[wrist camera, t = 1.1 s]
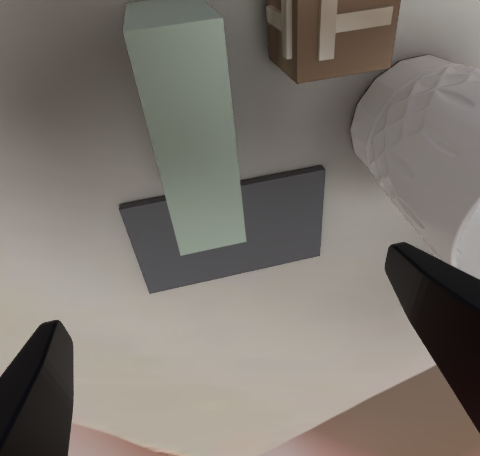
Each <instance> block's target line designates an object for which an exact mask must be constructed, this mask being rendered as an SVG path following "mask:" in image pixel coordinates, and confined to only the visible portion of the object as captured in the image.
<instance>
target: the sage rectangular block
mask: <svg viewBox="0 0 480 456" xmlns="http://www.w3.org/2000/svg"><path fill="white" fill-rule="evenodd" d="M123 35H124V39H125V43H126V47H127V51H128V55H129V58H130V62H131V66H132V70H133V74H134V78H135V82H136V85H137V89H138V93H139V97H140V101H141V105H142V109H143V112H144V116H145V120H146V124H147V128H148V132H149V136H150V139H151V143H152V147H153V151H154V155H155V159H156V163H157V166H158V170H159V174H160V178H161V182H162V186H163V190H164V193H165V197H166V201H167V205H168V209H169V213H170V217H171V221H172V224H173V228H174V232H175V236H176V240H177V244H178V248H179V251H180V255H181V256H182V255H187V254H191V253H196V252H201V251H205V250H210V249H215V248H219V247H224V246H229V245H233V244H238V243H243V242H246V233H245V223H244V214H243V204H242V194H241V185H240V175H239V166H238V156H237V146H236V137H235V127H234V117H233V108H232V98H231V89H230V79H229V69H228V60H227V50H226V41H225V31H224V21H223V17H222V16H221V15H220V14H219V13H218V12H217V11H216V10H214V9H213V8H212V7H211V6H210V5H209V4H208V3H207V2H206V1H205V0H147V1H140V2H132V3H126V8H125V17H124V25H123Z"/></svg>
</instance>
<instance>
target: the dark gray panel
mask: <svg viewBox="0 0 480 456" xmlns="http://www.w3.org/2000/svg"><path fill="white" fill-rule="evenodd" d="M324 182H325V168H324V167H323V166H322V165H321V166H316V167H311V168H306V169H301V170H295V171H290V172H285V173H280V174H275V175H270V176H265V177H260V178H254V179H249V180H244V181H240V185H241V194H242V204H243V214H244V223H245V233H246V242H243V243H238V244H233V245H229V246H224V247H219V248H215V249H210V250H205V251H201V252H196V253H191V254H187V255H182V256H181V255H180V251H179V248H178V244H177V240H176V236H175V232H174V228H173V224H172V221H171V217H170V213H169V209H168V205H167V201H166V197H165V196H162V197H157V198H152V199H147V200H142V201H137V202H132V203H126V204H121V205H120V206H119V210H120V213H121V216H122V219H123V222H124V224H125V227H126V230H127V233H128V235H129V238H130V241H131V244H132V246H133V249H134V252H135V255H136V257H137V260H138V263H139V266H140V268H141V271H142V274H143V277H144V279H145V282H146V285H147V288H148V291H149V293H150V294H151V293H156V292H160V291H165V290H169V289H173V288H178V287H182V286H187V285H191V284H196V283H200V282H205V281H209V280H214V279H218V278H223V277H227V276H232V275H236V274H241V273H245V272H249V271H254V270H258V269H263V268H267V267H272V266H276V265H281V264H285V263H290V262H294V261H299V260H303V259H308V258H312V257H317V256H320V246H321V230H322V214H323V198H324Z"/></svg>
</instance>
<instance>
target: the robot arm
mask: <svg viewBox="0 0 480 456" xmlns="http://www.w3.org/2000/svg"><path fill="white" fill-rule="evenodd" d="M385 271H386V274H387V276H388V278H389V280H390V283H391V285H392V287H393V289H394V291H395V293H396V295H397V297H398V299H399V301H400V303H401V305H402V307H403V309H404V312H405V314H406V315H407V317H408V319H409V321H410V323H411V324H412V326H413V328H414V329H415V331H416V332H417V334H418V336H419V337H420V339H421V340H422V342H423V344H424V345H425V347H426V348H427V350H428V352H429V353H430V355H431V356H432V358H433V360H434V361H435V363H436V364H437V366H438V368H439V369H440V371H441V372H442V374H443V376H444V377H445V379H446V380H447V382H448V384H449V385H450V387H451V388H452V390H453V391H454V393H455V395H456V396H457V398H458V400H459V401H460V403H461V404H462V406H463V408H464V409H465V411H466V412H467V414H468V416H469V417H470V419H471V420H472V422H473V423H474V425H475V427H476V428H477V430H478V432H479V433H480V279H478V278H476V277H474V276H472V275H470V274H468V273H466V272H464V271H462V270H460V269H458V268H456V267H454V266H452V265H450V264H448V263H446V262H444V261H442V260H440V259H438V258H436V257H434V256H432V255H430V254H428V253H426V252H424V251H422V250H420V249H418V248H416V247H414V246H412V245H410V244H408V243H405V242H401V243H396V244H392V245H390V247H389V248H388V253H387V257H386V262H385ZM73 396H74V387H73V342H72V339H71V337H70V335H69V334H68V332H67V330H66V329H65V327H64V326H63V324H62V323H61V321H59V320H53V321H49V322H45V323H42V324H41V325H40V326H39V327H38V328H37V329H36V331H35V332H34V333H33V335H32V336H31V337H30V339H29V340H28V341H27V343H26V344H25V345H24V346H23V348H22V349H21V350H20V352H19V353H18V354H17V356H16V357H15V358H14V360H13V361H12V362H11V364H10V365H9V366H8V367H7V369H6V370H5V371H4V373H3V374H2V375H1V377H0V456H68V449H69V439H70V431H71V422H72V413H73Z"/></svg>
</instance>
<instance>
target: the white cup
mask: <svg viewBox="0 0 480 456" xmlns="http://www.w3.org/2000/svg"><path fill="white" fill-rule="evenodd" d="M350 132H351V138H352V143H353V148H354V153H355V154H356V155H357V156H358V158H359V159H360V160H361V161H362V162H363V163H364V164H365V165H366V167H367V168H368V169H369V170H370V171H371V173H372V174H373V175H374V176H375V178H376V180H377V181H378V184H379V186H380V187H381V188H382V189H383V190H384V192H385V193H386V194H387V196H388V197H389V198H390V200H391V201H392V202H393V204H394V205H395V206H396V207H397V208H398V210H399V211H400V212H401V213H402V214H403V215H404V217H405V218H406V219H407V220H408V221H409V223H410V224H411V225H412V226H413V227H414V228H415V230H416V231H417V232H418V233H419V234H420V236H421V237H422V238H423V239H424V240H425V241H426V243H427V244H428V245H429V246H430V247H431V248H432V250H433V251H434V252H435V253H436V254H437V256H438V257H439V258H440V259H441V260H442V261H444V262H446V263H448V264H450V265H452V266H454V267H456V268H458V269H460V270H462V271H464V272H466V273H468V274H470V275H472V276H474V277H476V278H478V279H480V67H469V66H465V65H461V64H456V63H453V62H450V61H447V60H444V59H441V58H438V57H435V56H432V55H425V56H420V57H415V58H411V59H406V60H402V61H400V62H398V63H397V64H396V65H394V66H393V67H391V68H390V69H389V70H387V71H386V72H384V73H383V74H382V75H380V76H379V77H377V78H376V79H375V80H374V82H373V83H372V84H371V86H370V87H369V88H368V90H367V91H366V93H365V94H364V95H363V97H362V98H361V100H360V101H359V102H358V104H357V107H356V111H355V115H354V118H353V122H352V126H351V129H350Z"/></svg>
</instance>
